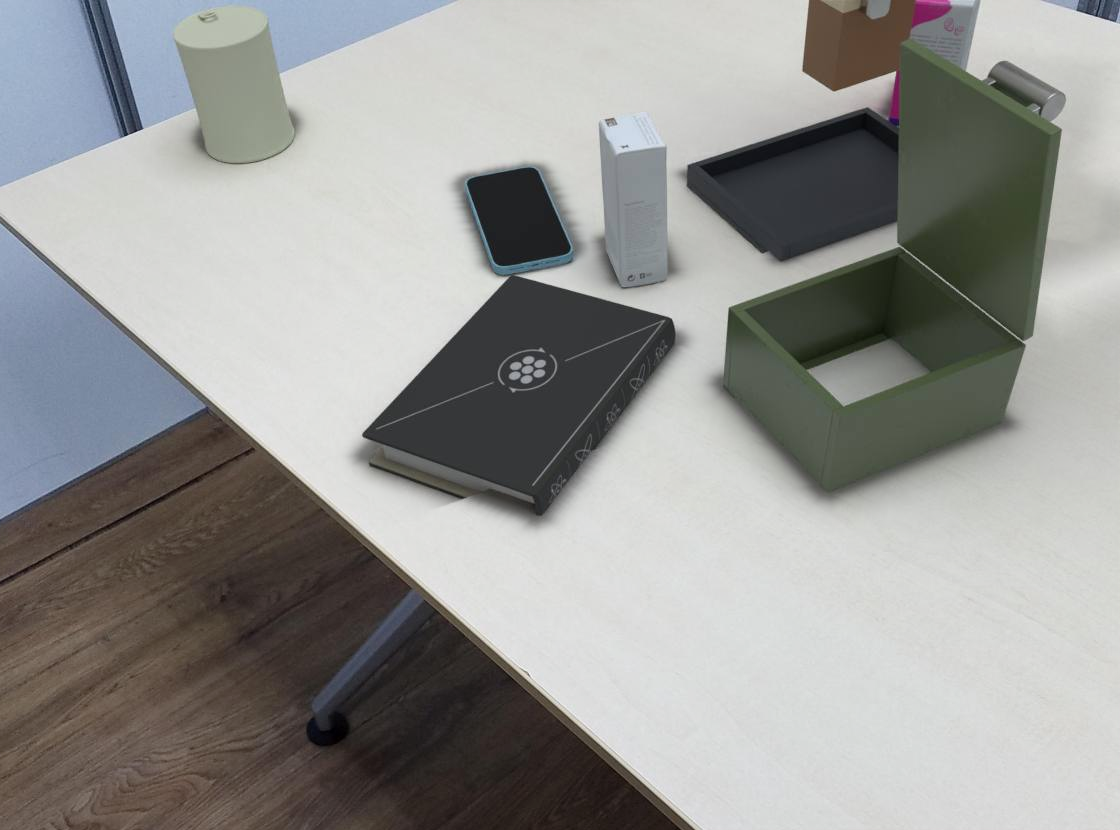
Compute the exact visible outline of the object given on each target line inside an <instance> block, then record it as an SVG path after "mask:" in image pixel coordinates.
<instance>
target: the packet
mask: <svg viewBox="0 0 1120 830" xmlns="http://www.w3.org/2000/svg"><path fill="white" fill-rule="evenodd" d="M915 2H916V0H891V1H890V7H889V11H888V13H887V14H886V15H885V16H883V17H880V18H876V19H871V18H869V17H868V16H866V15H865V14H863V13H861V12H860V10H859V8H860V4H861V0H808V6H807V15H806V27H805V36H804V47H803V58H802V69H801V72H802V73H804V74H806V75H807V76H809V77H811V78H812V79H813V80H814V81H816V82H817V83H819V84H821V85H822V86H824V87H825V88H827V89H829V90H830V91H832V92H833V93H834V92H838V91H841V90H844V89H848V88H850V87H852V86H857V85H859V84H862V83H865V82H868V81H871V80H874V79H877V78H881V77H883V76H886V75H890V74H892V73H896V71H898V70H900V44H901V43H902V42H904V41H906V40H908V39H910V32H911V26H912V20H913V14H914V8H915Z"/></svg>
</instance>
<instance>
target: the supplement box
mask: <svg viewBox="0 0 1120 830" xmlns="http://www.w3.org/2000/svg"><path fill="white" fill-rule="evenodd" d="M980 4H981V0H916V2H915V8H914V14H913V20H912V26H911V32H910V38H911V39H913V40H914V41H916V42H918V43H919V44H921V45H923V46H924V47H926V48H928V49H929V50H931V51H933V52H934V53H936V54H938V55H939V56H941V57H943V58H944V59H946V60H948V61H950V62H951V63H953V64H955V65H956V66H958V67H960V68H961V69H963V70H965V71H966V72H967V69H968V68H967V67H968V63H969V60H970V59H969V57H970V53H971V48H972V44H973V39H974V35H975V34H974V33H975V29H976V24H977V19H978V15H979V10H980V6H981V5H980ZM899 95H900V70H898V71H895V77H894V84H893V89H892V96H891V101H890V107H889V113H888V119H887V120H888V121H889V122H890V123H892V124H893V125H898V126H899Z"/></svg>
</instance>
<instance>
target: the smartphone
mask: <svg viewBox="0 0 1120 830" xmlns="http://www.w3.org/2000/svg"><path fill="white" fill-rule="evenodd" d="M464 187H465V193H466V196H467V199H468V202H469V205H470V208H471V211H472V213H473V216H474V219H475V222H476V224H477V228H478V230H479V234H480V236H481V237H480V238H481V239H482V242H483V245H484V248H485V250H486V254H487V257H488V259H489V263H490V265H491V268H492V270H493V271H494V273H496V274H497V275H502V276H505V275H514V274H518V273H523V272H529V271H533V270H540V269H544V268H549V267H554V266H559V265H564V264H567V263H570V262H571V261H572V260H573V258H574V250H573V249H574V247H573V244H572V242H571V240H570V237H569V235H568V233H567V231H566V227H565V226H564V224H563V221H562V219H561V217H560V214H559V212H558V210H557V207H556V205H555V202H554V201H553V198H552V196H551V193H550V191H549V189H548V187H547V184H546V182H545V179H544V177H543V175H542V173H541V170H540V169H538V167H536V166H522V167H517V168H511V169H506V170H505V169H504V170H499V171H495V172H489V173H485V174H484V173H483V174H479V175H473V176H470V177H468V178H467V179H466V180H465V182H464Z"/></svg>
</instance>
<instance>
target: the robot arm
mask: <svg viewBox="0 0 1120 830" xmlns="http://www.w3.org/2000/svg"><path fill="white" fill-rule="evenodd" d="M890 1H891V0H861V4H860V8H859V10H860V12H861V13H863V14H865V15H866V16H868V17H869V18H871V19H876V18H880V17H883V16H885V15H886V14H887V13H888V11H889V7H890Z"/></svg>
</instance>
